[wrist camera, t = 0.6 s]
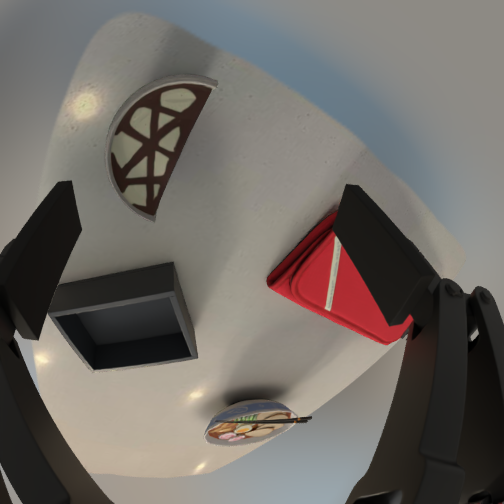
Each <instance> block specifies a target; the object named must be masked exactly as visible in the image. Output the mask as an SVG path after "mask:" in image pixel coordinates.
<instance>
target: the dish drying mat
mask: <svg viewBox="0 0 504 504" xmlns="http://www.w3.org/2000/svg"><path fill="white" fill-rule="evenodd" d="M337 212H338V211H336V212H334V213H333V214H331V215H330V216H328V217H327V218H326V219H324V220H323V221H322V222H321V223H320V224H319V225H318V226H316V227H315V228H314V229H313V230H312V231H311V232H310V233H309V234H308V236H307V237H306V238H305V239H304V240H303V241H302V242H301V243H300V244H299V245H298V246H297V247H296V248H295V249H294V250H293V251H292V252H291V253H290V254H289V255H288V256H287V258H286V259H285V260H284V261H283V262H282V263H281V264H280V265H279V266H278V267H277V268H276V269H275V270H274V271H273V272H272V273H271V274H270V275H269V276H268V277H267V285H268V287H269V288H271V289H272V290H274V291H275V292H277V293H279V294H280V295H282V296H284V297H286V298H288V299H290V300H291V301H293V302H295V303H297V304H299V305H300V306H302V307H304V308H307V309H309V310H311V311H313V312H315V313H317V314H319V315H321V316H324V317H326V318H328V319H330V320H331V321H333V322H335V323H337V324H340V325H342V326H344V327H347V328H349V329H351V330H353V331H355V332H357V333H359V334H361V335H363V336H365V337H368V338H370V339H372V340H374V341H376V342H379V343H381V344H384V345H388V344H390V343H392V342H394V341H396V340H398V339H400V338H401V336H402V334H403V333H404V332H405V330H406V329H407V328H408V326H409V325H410V324H411V322H412V321H413V318H412V316H411V315H409V316H408V317H407V319H406V320H405V322H404V323H403V324H400V325H395V326H390V327H389V326H388V324H387V322H386V320H385V318H384V316H383V314H382V313H381V311H380V309H379V307H378V305H377V304H376V302H375V300H374V298H373V296H372V295H371V293H370V291H369V289H368V288H367V286H366V284H365V282H364V281H363V279H362V277H361V276H360V274H359V272H358V271H357V269H356V267H355V266H354V264H353V262H352V261H351V259H350V257H349V256H348V254H347V252H346V251H345V249H344V248H343V246H342V244H341V243H340V241H339V240H338V238H337V236H336V235H335V233H334V232H333V230H332V227H333V224H334V221H335V218H336V215H337Z"/></svg>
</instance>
